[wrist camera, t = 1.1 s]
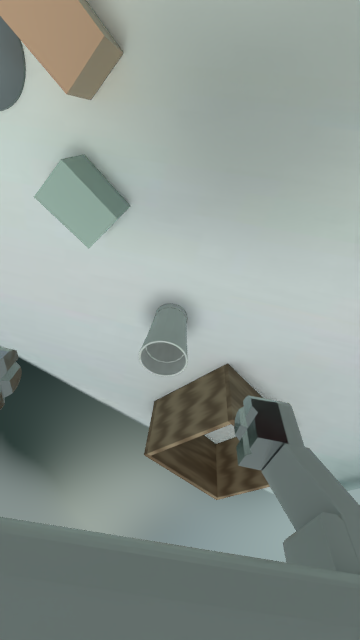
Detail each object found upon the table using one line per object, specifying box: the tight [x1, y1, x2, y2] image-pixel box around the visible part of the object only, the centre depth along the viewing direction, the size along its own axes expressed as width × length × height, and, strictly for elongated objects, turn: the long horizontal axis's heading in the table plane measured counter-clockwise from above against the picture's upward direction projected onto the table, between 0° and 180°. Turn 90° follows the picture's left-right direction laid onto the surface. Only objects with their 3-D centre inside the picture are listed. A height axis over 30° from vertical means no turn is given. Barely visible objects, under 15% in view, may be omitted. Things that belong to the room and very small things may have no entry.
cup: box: [139, 304, 188, 376], centre depth 48 cm, size 8×8×12 cm
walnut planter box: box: [144, 364, 270, 500], centre depth 63 cm, size 23×26×14 cm
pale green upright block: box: [34, 155, 130, 248], centre depth 38 cm, size 6×9×7 cm
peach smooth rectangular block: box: [0, 0, 123, 100], centre depth 28 cm, size 6×9×7 cm
